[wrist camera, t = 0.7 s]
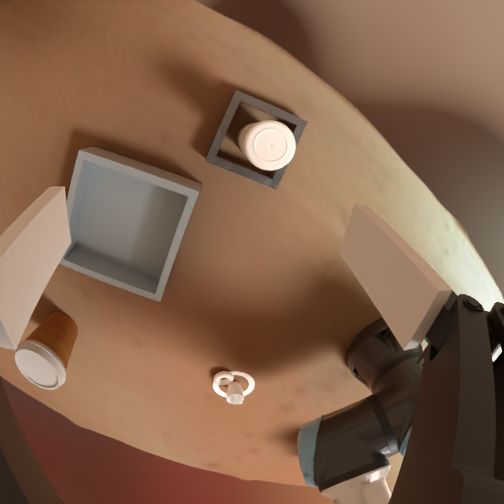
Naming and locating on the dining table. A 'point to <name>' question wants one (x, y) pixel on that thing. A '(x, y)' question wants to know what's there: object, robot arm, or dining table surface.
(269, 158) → the sprinkles bottle
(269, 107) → the collar
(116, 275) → the bin
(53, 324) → the disposable coffee cup
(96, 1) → the dining table surface
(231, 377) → the white ring with peg
